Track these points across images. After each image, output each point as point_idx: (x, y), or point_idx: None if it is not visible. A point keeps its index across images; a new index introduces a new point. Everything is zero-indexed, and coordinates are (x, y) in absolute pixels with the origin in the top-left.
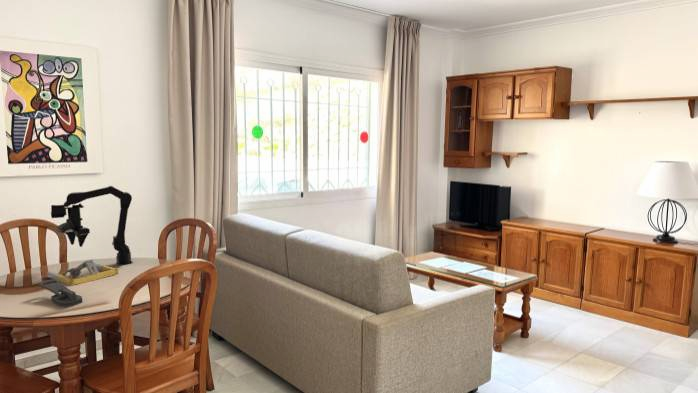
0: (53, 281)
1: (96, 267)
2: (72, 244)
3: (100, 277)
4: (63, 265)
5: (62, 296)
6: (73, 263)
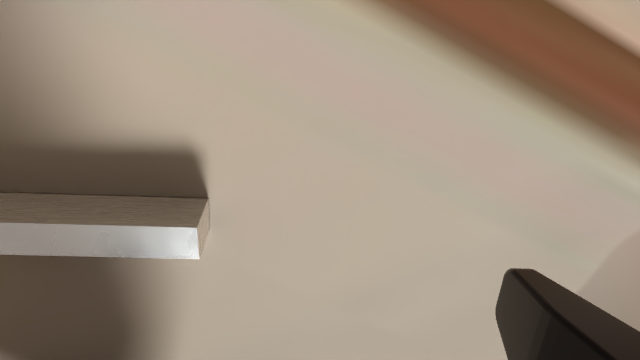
0: None
1: (59, 204)
2: (504, 292)
3: None
4: (621, 72)
5: None
6: (581, 186)
